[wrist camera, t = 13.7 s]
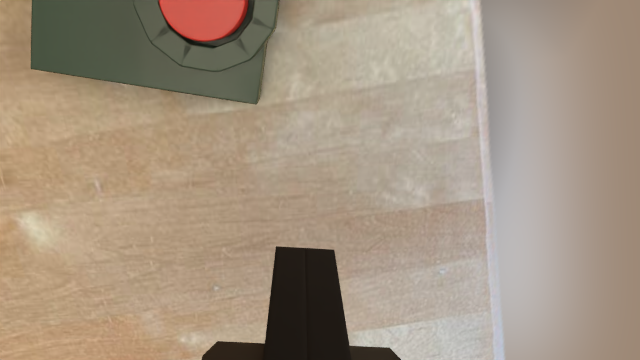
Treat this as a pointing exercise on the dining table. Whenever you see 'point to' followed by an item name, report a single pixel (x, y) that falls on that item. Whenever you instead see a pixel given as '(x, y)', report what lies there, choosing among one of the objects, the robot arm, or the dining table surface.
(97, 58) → the dark green flat block
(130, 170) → the dining table surface
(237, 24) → the bell button
